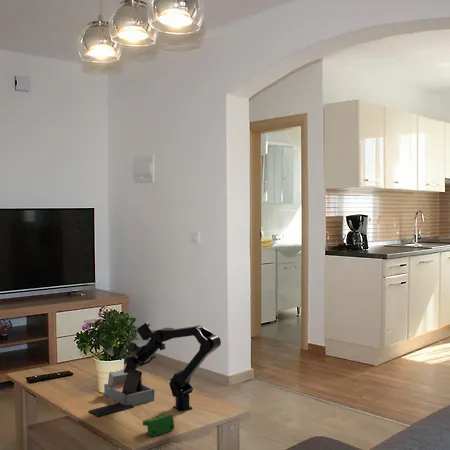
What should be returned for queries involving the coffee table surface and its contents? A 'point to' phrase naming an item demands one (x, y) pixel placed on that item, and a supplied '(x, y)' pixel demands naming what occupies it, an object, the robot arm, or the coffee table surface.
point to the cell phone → (109, 409)
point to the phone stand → (133, 382)
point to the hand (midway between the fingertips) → (129, 369)
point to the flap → (117, 379)
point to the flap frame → (130, 395)
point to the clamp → (159, 425)
